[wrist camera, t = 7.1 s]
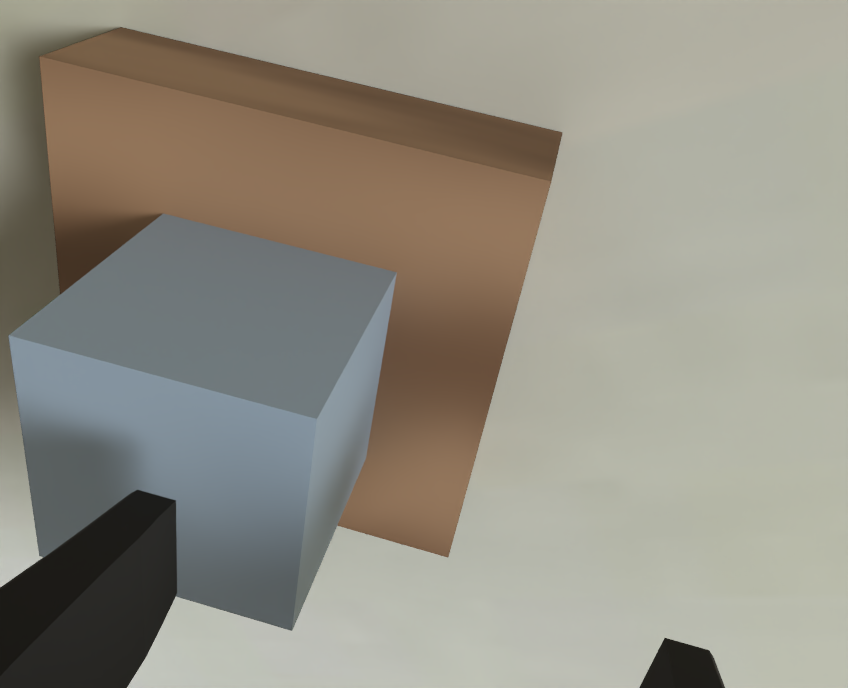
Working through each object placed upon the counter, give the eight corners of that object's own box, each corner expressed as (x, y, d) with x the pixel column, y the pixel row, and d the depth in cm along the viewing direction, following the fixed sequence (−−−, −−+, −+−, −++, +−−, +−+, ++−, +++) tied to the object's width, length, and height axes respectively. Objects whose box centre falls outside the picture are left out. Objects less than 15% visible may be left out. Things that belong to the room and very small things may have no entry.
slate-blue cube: (366, 458, 19) (291, 630, 15) (165, 403, 19) (39, 555, 15) (396, 272, 16) (316, 419, 12) (163, 213, 17) (8, 335, 13)
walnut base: (467, 478, 23) (447, 557, 20) (132, 385, 23) (73, 449, 21) (562, 132, 17) (551, 181, 15) (121, 27, 18) (39, 56, 15)
